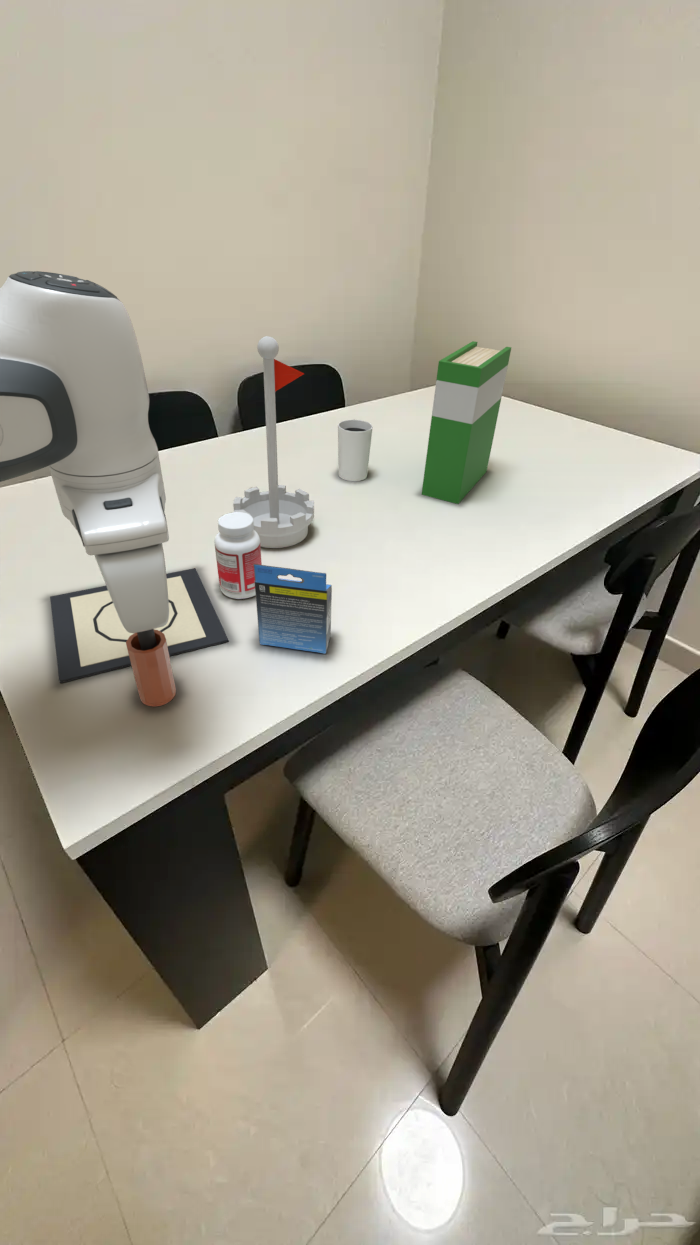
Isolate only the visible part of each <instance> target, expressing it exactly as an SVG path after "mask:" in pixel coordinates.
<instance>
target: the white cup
mask: <svg viewBox="0 0 700 1245" xmlns="http://www.w3.org/2000/svg"><path fill="white" fill-rule="evenodd" d="M373 427H374V426H373V424H372V423H371V422H369V421H366V420H361V419H346V420H342V421H340V422H338V424H337V452H338V453H337V460H338V462H337V464H338V465H337V467H338V470H337V471H338V477H339V478H340V479H342V480H344V481H348V482H360V481H363V480H366V479H367V478H368V471H369V464H370V454H371V446H372V445H371V444H372V438H373V437H372V436H373Z"/></svg>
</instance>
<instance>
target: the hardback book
mask: <svg viewBox="0 0 700 1245" xmlns="http://www.w3.org/2000/svg"><path fill="white" fill-rule="evenodd" d="M511 351H512V347H511V346H505V347H504V348H502V349H501V350H499V349H493V348H488V347H481V346H478V341H475V340H472V341H471V342H469V343H467V344H466V345H463V346H462V347H461V348H459V349H457V350H455V351H453V352H452V353H450V354H448V355H447V356H445V357H443V358H441V359H440V360H439V361H438V364H437V373H436V379H435V386H434V387H435V388H434V396H433V403H432V411H431V418H430V426H429V435H428V441H427V449H426V457H425V465H424V473H423V480H422V488H421V489H422V490H421V495H422V496H424V497H425V496H426V497H429V498H433V499H437V500H441V501H445V502H449V503H452V504H455V505H459V504H460V503H461V502H462V501H463V499H465V497H466V496H467V495H468V494H469V493H470V491H471V490H472V489H473V488H474V487H475V486H476V485H477V484H478V482H479V481H480V480H481V479H482V478H483V476H484V475H485V474H487V472H488V467H489V462H490V458H491V452H492V446H493V442H494V438H495V432H496V427H497V422H498V417H499V412H500V406H501V402H502V397H503V393H504V386H505V382H506V377H507V372H508V368H509V363H510V357H511Z"/></svg>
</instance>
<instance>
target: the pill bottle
mask: <svg viewBox="0 0 700 1245" xmlns="http://www.w3.org/2000/svg"><path fill="white" fill-rule="evenodd" d="M217 529H218V532H217V533H216V535H215V537H214V541H213V542H214V549H215V550H214V551H215V560H216V568H217V575H218V583H219V589H220V592H222V594H223V595H224V596H226V597H228V598H230V599H237V600H242V599H243V600H244V599H248V598H252V597H255V596H256V593H255V575H254V565H253V564H260V565H263V564H262V547H261V546H260V538H259V535H258V533H257V532H256V531H255V530H253V529H254V522H253V518H252V516H251V515H249V514H247V513H243V512H234V511H233V512H227V513H225V514H222V515H220V517H219V518H218V520H217Z"/></svg>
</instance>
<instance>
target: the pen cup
mask: <svg viewBox="0 0 700 1245" xmlns="http://www.w3.org/2000/svg"><path fill="white" fill-rule="evenodd" d="M154 633H155V638H156V643H157V646H156V647H154V648H153V649H149V650H145V651H143V650H141V648H140V644H139V639H138V635H137V633H134V634H133V635H131V636H130V637H129V638H128V640H127V641H126V646H127V650H128V654H129V658H130V662H131V665H132V666H131V669H132V672H133V677H134V681H135V685H136V688H137V693H138V697H139V700H140V701H141V703H142V704H143V705H145V706H148V707H153V708H154V707H162V706H164V705H166V704H168V703H170V702H171V701H172V700H174V698H175V696H176V693H177V689H176V688H177V687H176V683H175V677H174V673H173V667H172V662H171V656H169V652H168V647H167V642H166V638H165V635H164V633H162V632H160V631H158V630H154Z"/></svg>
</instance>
